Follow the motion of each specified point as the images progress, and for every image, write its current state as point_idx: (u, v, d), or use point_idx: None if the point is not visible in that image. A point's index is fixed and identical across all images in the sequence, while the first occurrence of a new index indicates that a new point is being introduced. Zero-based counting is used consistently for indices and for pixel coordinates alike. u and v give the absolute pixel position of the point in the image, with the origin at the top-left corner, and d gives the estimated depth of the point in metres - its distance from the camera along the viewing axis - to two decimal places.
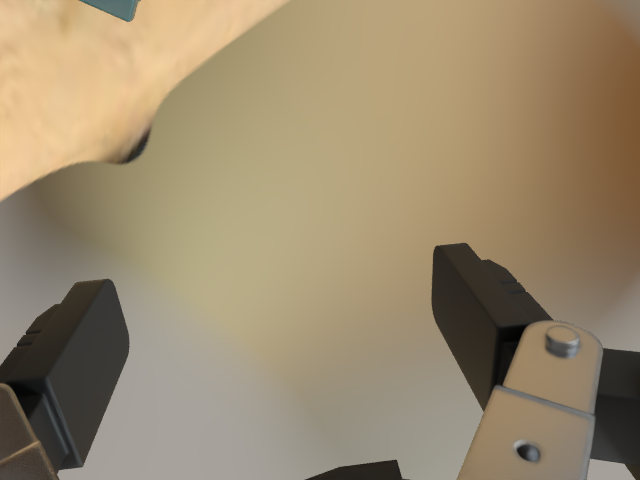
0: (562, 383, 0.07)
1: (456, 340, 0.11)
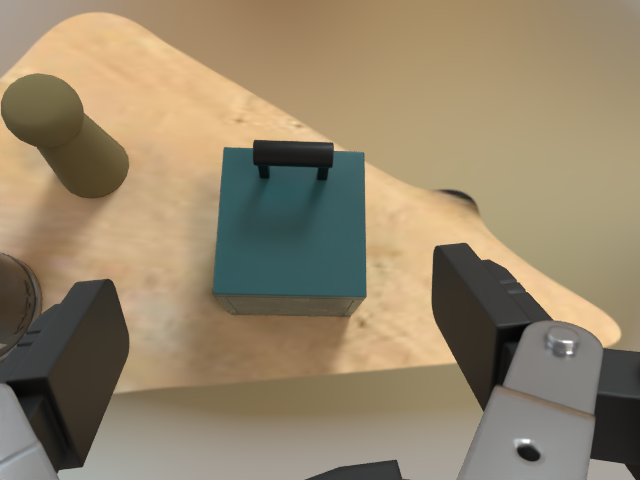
0: (562, 384, 0.07)
1: (456, 340, 0.11)
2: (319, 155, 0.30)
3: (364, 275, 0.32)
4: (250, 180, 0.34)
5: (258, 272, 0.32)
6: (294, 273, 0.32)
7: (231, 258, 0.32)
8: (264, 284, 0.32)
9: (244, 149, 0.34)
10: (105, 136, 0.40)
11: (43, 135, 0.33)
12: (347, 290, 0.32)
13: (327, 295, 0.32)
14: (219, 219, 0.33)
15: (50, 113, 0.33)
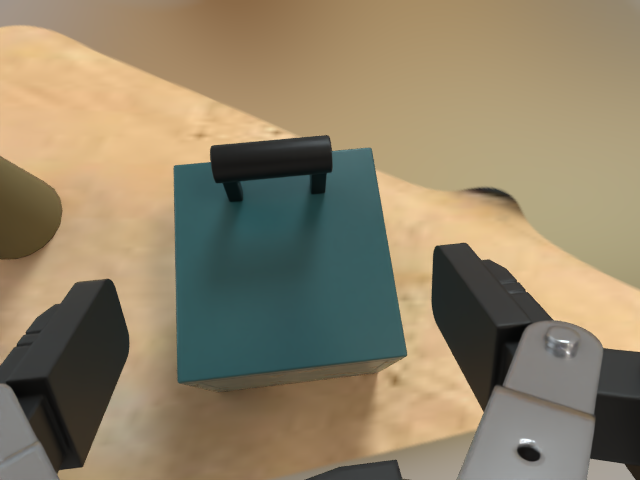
0: (562, 383, 0.07)
1: (456, 340, 0.11)
2: (311, 155, 0.20)
3: (399, 323, 0.22)
4: (216, 207, 0.23)
5: (242, 340, 0.21)
6: (296, 334, 0.21)
7: (200, 324, 0.21)
8: (253, 357, 0.21)
9: (203, 164, 0.24)
10: (20, 175, 0.30)
11: None
12: (377, 350, 0.21)
13: (349, 361, 0.21)
14: (177, 269, 0.22)
15: None
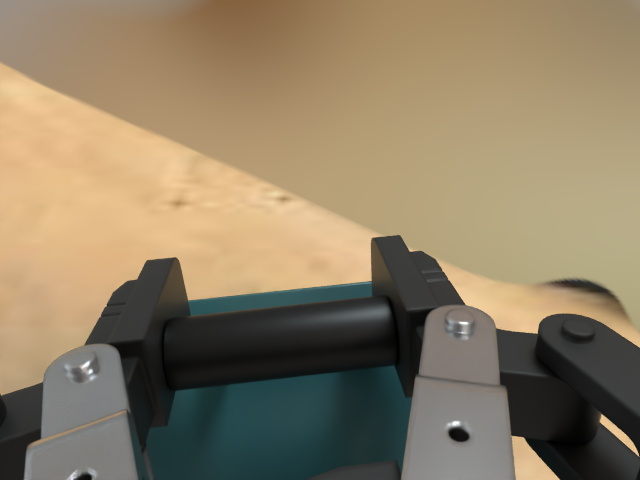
0: (469, 362, 0.08)
1: None
2: (358, 345, 0.10)
3: None
4: None
5: None
6: None
7: None
8: None
9: None
10: None
11: None
12: None
13: None
14: None
15: None
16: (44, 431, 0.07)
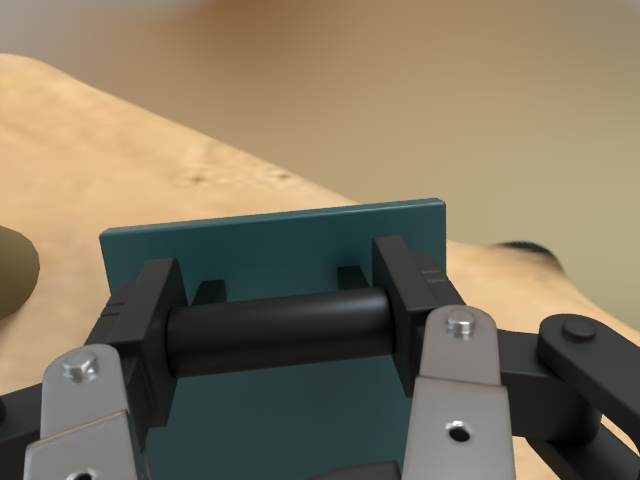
0: (469, 362, 0.08)
1: None
2: (356, 351, 0.11)
3: None
4: None
5: None
6: None
7: (180, 471, 0.16)
8: None
9: (151, 234, 0.14)
10: None
11: None
12: None
13: None
14: None
15: None
16: (43, 432, 0.07)
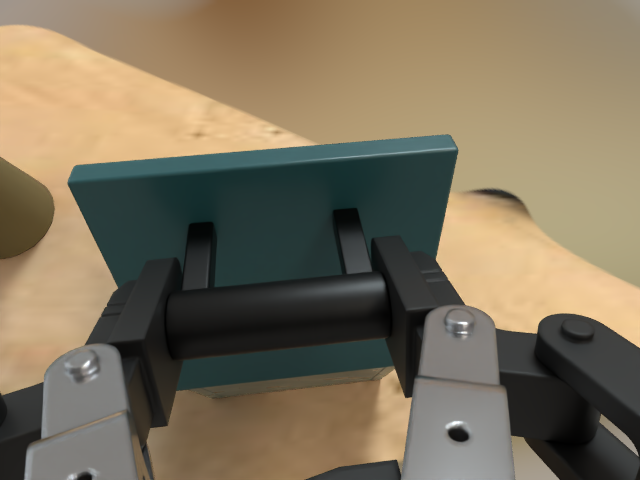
0: (468, 362, 0.08)
1: None
2: None
3: None
4: (172, 246, 0.14)
5: (235, 364, 0.18)
6: (297, 358, 0.19)
7: None
8: (249, 374, 0.19)
9: (128, 182, 0.12)
10: (10, 170, 0.29)
11: None
12: (384, 363, 0.20)
13: (352, 370, 0.20)
14: None
15: None
16: (44, 431, 0.07)
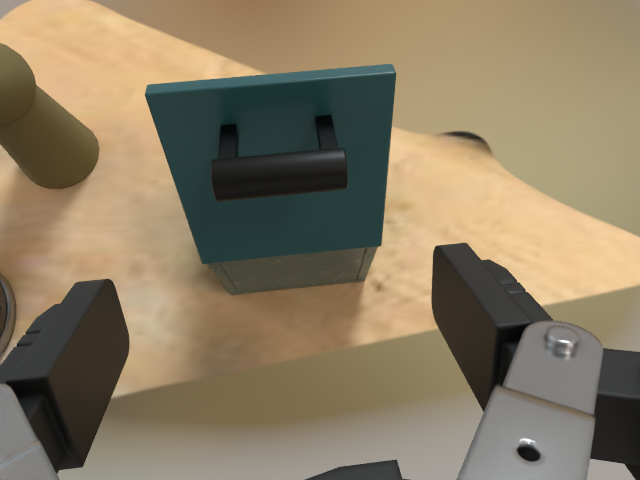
0: (562, 383, 0.07)
1: (456, 340, 0.11)
2: (324, 189, 0.18)
3: (380, 229, 0.26)
4: (209, 142, 0.21)
5: (250, 241, 0.26)
6: (295, 237, 0.26)
7: (213, 233, 0.25)
8: (260, 250, 0.26)
9: (182, 94, 0.19)
10: (67, 114, 0.36)
11: None
12: (359, 244, 0.27)
13: (336, 250, 0.27)
14: (180, 196, 0.23)
15: None
16: None
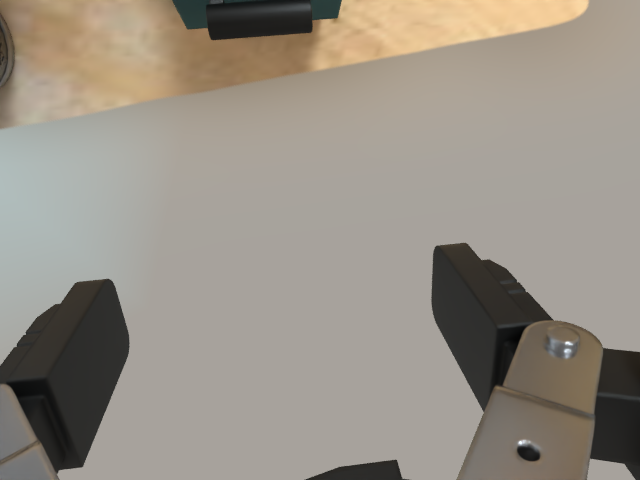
0: (562, 384, 0.07)
1: (456, 340, 0.11)
2: None
3: (338, 9, 0.31)
4: None
5: None
6: None
7: (196, 12, 0.29)
8: None
9: None
10: None
11: None
12: (319, 17, 0.32)
13: None
14: None
15: None
16: None
